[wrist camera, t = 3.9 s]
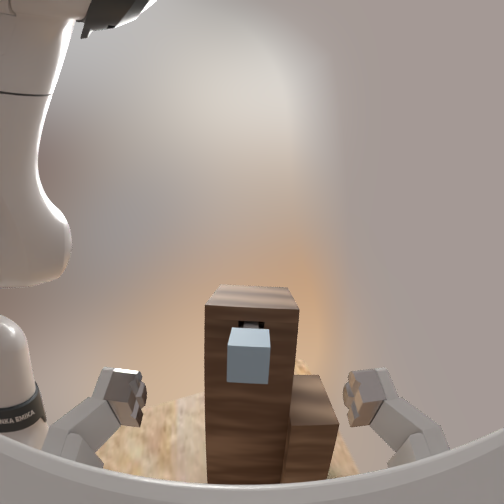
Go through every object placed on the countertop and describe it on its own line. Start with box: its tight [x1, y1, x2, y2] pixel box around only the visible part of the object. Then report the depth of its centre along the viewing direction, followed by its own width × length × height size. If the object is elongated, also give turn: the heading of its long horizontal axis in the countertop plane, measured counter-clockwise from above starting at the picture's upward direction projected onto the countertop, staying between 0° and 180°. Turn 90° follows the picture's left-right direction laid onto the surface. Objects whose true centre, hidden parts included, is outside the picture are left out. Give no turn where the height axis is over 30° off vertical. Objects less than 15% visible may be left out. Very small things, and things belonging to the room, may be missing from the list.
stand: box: [204, 285, 339, 485], centre depth 39 cm, size 17×16×28 cm
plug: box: [227, 321, 271, 384], centre depth 35 cm, size 20×4×4 cm, turn 179°
